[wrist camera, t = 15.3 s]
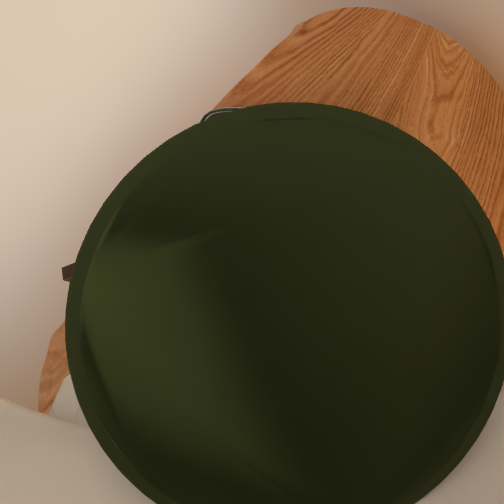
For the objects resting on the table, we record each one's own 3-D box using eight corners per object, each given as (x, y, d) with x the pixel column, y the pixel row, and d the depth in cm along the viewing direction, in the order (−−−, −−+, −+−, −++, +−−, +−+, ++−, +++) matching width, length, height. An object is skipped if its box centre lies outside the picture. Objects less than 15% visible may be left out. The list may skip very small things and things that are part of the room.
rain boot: (337, 371, 14) (488, 498, 2) (234, 379, 15) (108, 533, 2) (317, 177, 17) (359, -31, 4) (223, 184, 17) (143, -13, 5)
